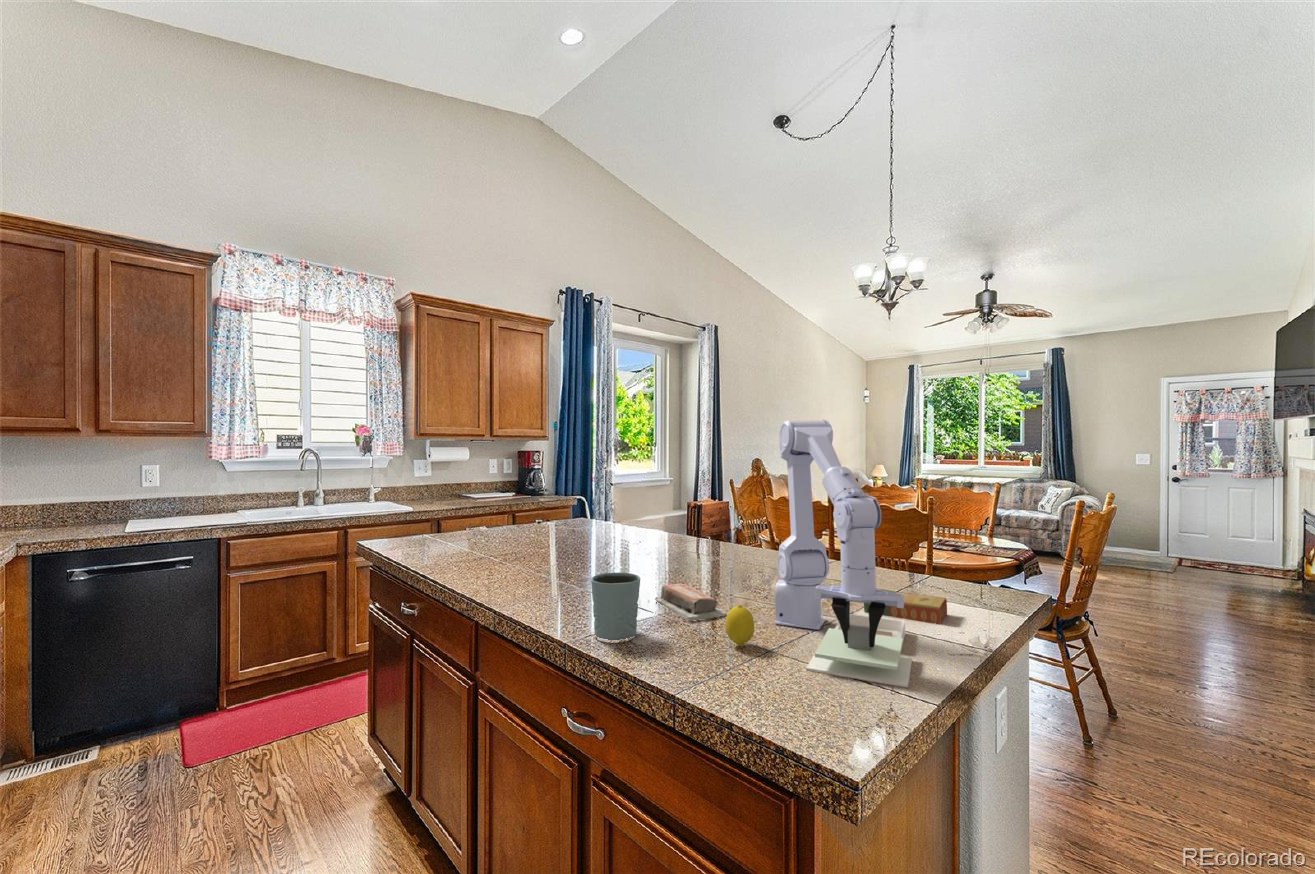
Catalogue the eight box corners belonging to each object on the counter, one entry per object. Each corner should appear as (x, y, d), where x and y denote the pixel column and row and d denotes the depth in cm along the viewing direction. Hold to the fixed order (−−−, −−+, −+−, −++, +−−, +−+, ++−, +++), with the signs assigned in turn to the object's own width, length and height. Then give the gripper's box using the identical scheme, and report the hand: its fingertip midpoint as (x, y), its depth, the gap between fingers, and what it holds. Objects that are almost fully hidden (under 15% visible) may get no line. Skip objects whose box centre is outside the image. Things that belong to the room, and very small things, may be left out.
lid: (814, 661, 94) (814, 636, 94) (829, 634, 106) (828, 612, 106) (897, 674, 88) (896, 647, 88) (903, 645, 100) (902, 621, 100)
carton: (940, 626, 117) (940, 606, 117) (863, 613, 127) (862, 595, 127) (947, 615, 124) (946, 596, 124) (873, 604, 134) (872, 587, 134)
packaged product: (653, 584, 138) (688, 579, 142) (653, 604, 138) (688, 598, 142) (688, 602, 122) (726, 596, 126) (688, 624, 122) (727, 617, 126)
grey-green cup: (581, 636, 114) (581, 578, 114) (617, 624, 121) (616, 569, 121) (615, 648, 107) (614, 586, 107) (651, 634, 114) (650, 576, 115)
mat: (806, 669, 95) (806, 667, 95) (820, 646, 106) (820, 644, 106) (907, 687, 88) (907, 684, 88) (912, 660, 98) (912, 658, 98)
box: (833, 643, 108) (833, 630, 108) (843, 624, 118) (843, 613, 118) (901, 653, 102) (900, 639, 102) (905, 632, 113) (905, 620, 113)
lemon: (756, 642, 109) (755, 601, 109) (752, 652, 104) (751, 609, 104) (729, 639, 111) (728, 599, 111) (723, 649, 105) (722, 607, 105)
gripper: (811, 566, 97) (812, 644, 97) (901, 574, 90) (903, 658, 90) (819, 559, 103) (820, 632, 103) (904, 565, 96) (905, 643, 96)
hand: (859, 643), depth 97 cm, fingers closed on lid, 3 cm apart
